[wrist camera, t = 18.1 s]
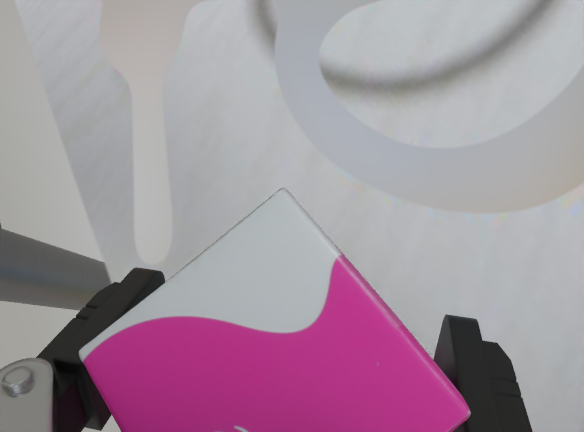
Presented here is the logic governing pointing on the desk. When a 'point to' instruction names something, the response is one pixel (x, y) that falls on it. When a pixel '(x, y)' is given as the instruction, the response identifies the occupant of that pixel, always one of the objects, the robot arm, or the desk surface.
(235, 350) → the supplement box
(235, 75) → the desk surface
